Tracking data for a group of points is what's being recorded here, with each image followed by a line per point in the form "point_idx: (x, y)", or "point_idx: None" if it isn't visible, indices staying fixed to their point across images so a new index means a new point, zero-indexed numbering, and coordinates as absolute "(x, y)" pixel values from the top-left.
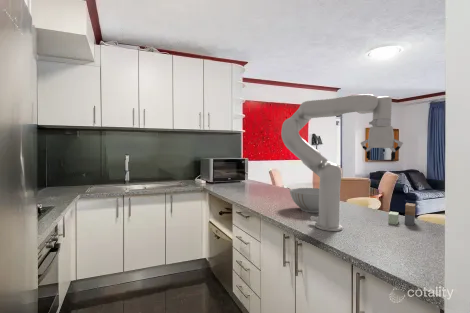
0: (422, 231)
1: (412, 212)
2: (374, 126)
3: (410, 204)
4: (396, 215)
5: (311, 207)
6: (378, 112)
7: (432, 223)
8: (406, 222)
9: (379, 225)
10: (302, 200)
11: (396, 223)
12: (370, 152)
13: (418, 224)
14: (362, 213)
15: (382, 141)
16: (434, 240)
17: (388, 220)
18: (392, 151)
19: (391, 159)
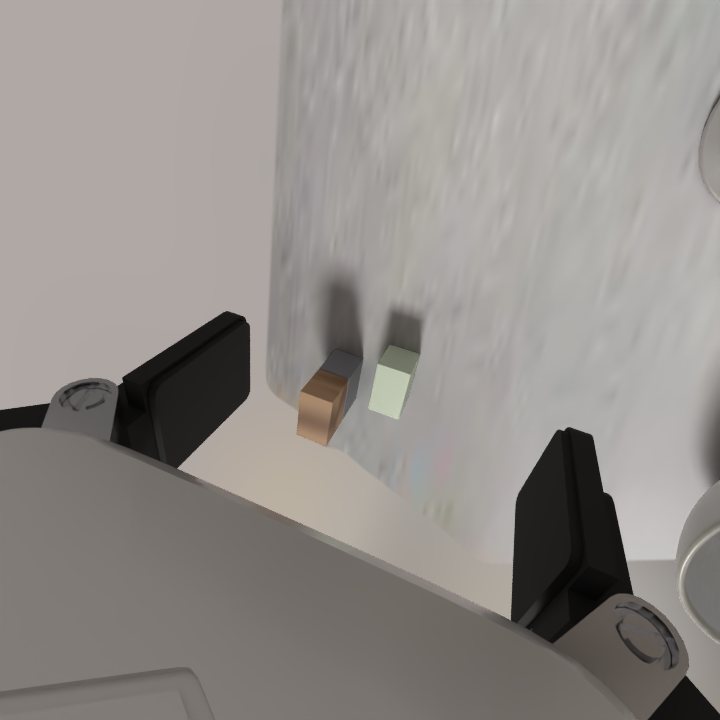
0: (316, 278)
1: (320, 378)
2: None
3: (313, 419)
4: (381, 364)
5: None
6: None
7: (281, 394)
8: (355, 360)
9: (462, 304)
10: None
11: (390, 346)
12: (518, 609)
13: None
14: (502, 473)
15: (30, 718)
16: (289, 163)
17: (417, 359)
18: (128, 414)
19: (233, 319)
